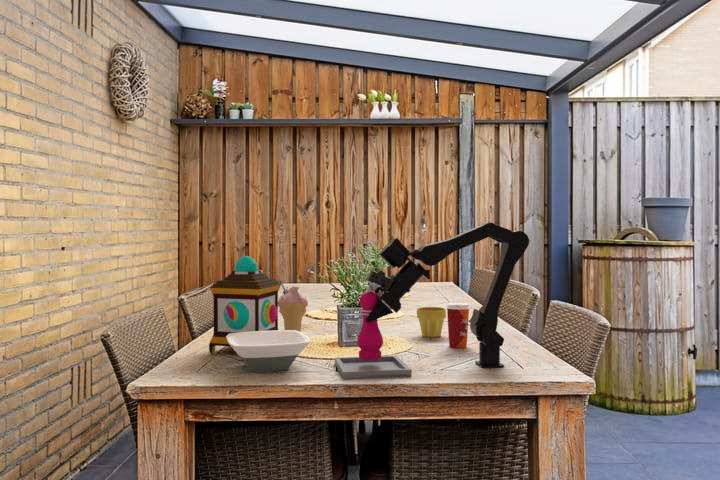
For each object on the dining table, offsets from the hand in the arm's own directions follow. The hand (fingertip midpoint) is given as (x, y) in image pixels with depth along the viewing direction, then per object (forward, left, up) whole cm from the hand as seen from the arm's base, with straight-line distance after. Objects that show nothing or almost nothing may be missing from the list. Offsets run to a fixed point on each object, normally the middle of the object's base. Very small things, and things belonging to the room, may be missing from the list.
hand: (365, 320), depth 176 cm
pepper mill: (0, -1, -11) cm, 11 cm away
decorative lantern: (+30, +33, -13) cm, 47 cm away
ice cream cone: (+53, +17, -13) cm, 57 cm away
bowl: (+5, +27, -14) cm, 31 cm away
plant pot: (+46, -32, -13) cm, 58 cm away
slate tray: (-3, -1, -13) cm, 14 cm away
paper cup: (+25, -35, -13) cm, 45 cm away
